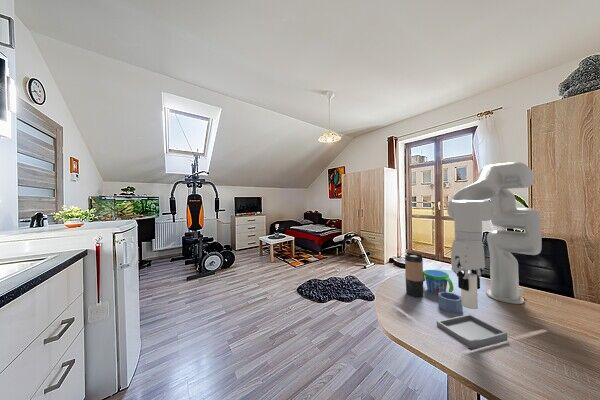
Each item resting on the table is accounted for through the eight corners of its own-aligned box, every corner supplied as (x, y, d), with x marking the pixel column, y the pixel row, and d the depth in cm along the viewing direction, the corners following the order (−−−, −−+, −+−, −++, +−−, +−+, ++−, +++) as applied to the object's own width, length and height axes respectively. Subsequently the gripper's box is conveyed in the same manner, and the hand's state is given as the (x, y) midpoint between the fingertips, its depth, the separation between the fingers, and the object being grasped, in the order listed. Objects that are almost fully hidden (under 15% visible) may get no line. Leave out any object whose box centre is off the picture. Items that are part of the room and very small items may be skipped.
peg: (467, 302, 76) (467, 271, 76) (480, 308, 71) (480, 275, 71) (458, 303, 75) (457, 273, 75) (471, 310, 70) (470, 277, 70)
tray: (469, 320, 81) (469, 314, 81) (507, 340, 69) (507, 333, 69) (436, 327, 77) (436, 321, 77) (471, 350, 65) (470, 342, 65)
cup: (448, 304, 94) (448, 290, 94) (467, 313, 86) (466, 299, 86) (434, 307, 92) (433, 293, 92) (451, 316, 84) (451, 301, 84)
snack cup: (415, 288, 111) (415, 268, 111) (432, 285, 114) (431, 267, 114) (441, 301, 96) (440, 279, 96) (459, 298, 98) (459, 277, 98)
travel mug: (426, 300, 98) (425, 257, 98) (408, 299, 99) (407, 257, 99) (420, 293, 105) (419, 253, 105) (403, 292, 107) (403, 253, 107)
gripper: (474, 233, 79) (475, 281, 79) (439, 235, 75) (440, 287, 74) (497, 236, 72) (499, 289, 72) (460, 239, 67) (461, 296, 67)
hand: (469, 287), depth 73 cm, fingers closed on peg, 4 cm apart
